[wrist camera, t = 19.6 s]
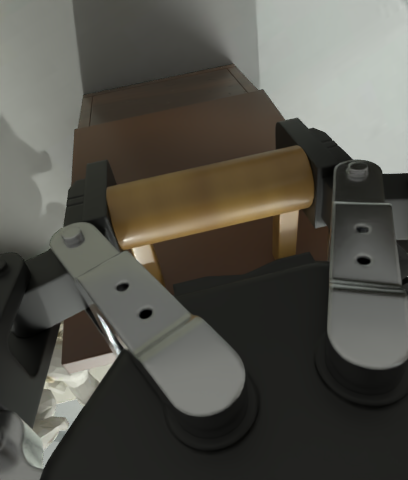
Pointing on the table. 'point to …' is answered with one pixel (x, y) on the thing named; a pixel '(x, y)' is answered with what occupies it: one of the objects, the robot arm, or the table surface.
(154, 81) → the case
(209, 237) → the lid
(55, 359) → the sculpture
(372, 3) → the table surface
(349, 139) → the table surface
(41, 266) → the robot arm
